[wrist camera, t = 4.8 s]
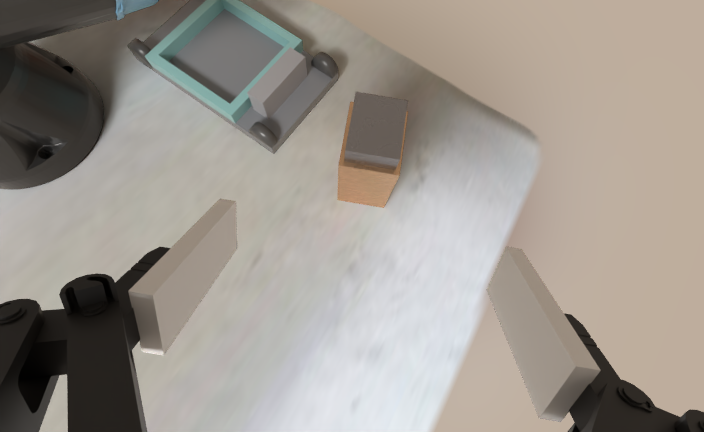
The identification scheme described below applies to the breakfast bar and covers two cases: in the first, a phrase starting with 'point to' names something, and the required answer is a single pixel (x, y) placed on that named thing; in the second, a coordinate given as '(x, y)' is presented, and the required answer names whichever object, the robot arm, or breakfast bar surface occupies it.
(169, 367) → the breakfast bar surface
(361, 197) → the grey block on wood
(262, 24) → the toy car chassis
